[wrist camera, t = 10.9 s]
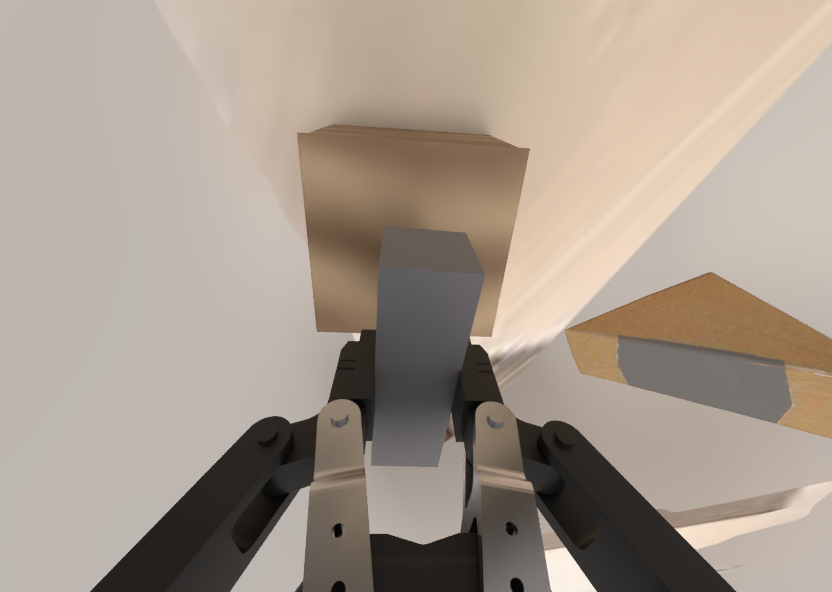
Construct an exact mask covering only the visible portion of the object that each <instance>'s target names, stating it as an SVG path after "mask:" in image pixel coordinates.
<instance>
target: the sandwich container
mask: <svg viewBox="0 0 832 592" xmlns="http://www.w3.org/2000/svg"><path fill="white" fill-rule="evenodd" d="M565 334H566V337H567V341H568V344H569V347H570V351H571V354H572V356H573V358H574V360H575V363H576V365H577V367H578V369H579V371H580V373H581V374H585V375H589V376H593V377H597V378H602V379H605V380H609V381H614V382H618V383H622V384H626V385H630V386H634V387H638V388H642V389H645V390H650V391H654V392H657V393H661V394H665V395H669V396H673V397H677V398H681V399H684V400H688V401H692V402H696V403H699V404H703V405H707V406H711V407H715V408H719V409H723V410H727V411H731V412H735V413H738V414H742V415H746V416H750V417H753V418H757V419H761V420H764V421H768V422H772V423H776V424H779V425H783V426H787V427H790V428H794V429H798V430H801V431H805V432H809V433H813V434H816V435H820V436H823V437H827V438H831V439H832V339H831V338H829V337H827V336H825V335H824V334H822V333H820V332H819V331H817V330H815V329H813V328H811V327H810V326H808V325H806V324H804V323H802V322H800V321H799V320H797V319H795V318H793V317H792V316H790V315H788V314H786V313H784V312H782V311H781V310H779V309H777V308H775V307H773V306H772V305H770V304H768V303H766V302H764V301H763V300H761V299H759V298H757V297H756V296H754V295H752V294H750V293H748V292H747V291H745V290H743V289H741V288H739V287H737V286H736V285H734V284H732V283H730V282H728V281H727V280H725V279H723V278H721V277H719V276H718V275H716V274H714V273H712V272H709V273H706V274H703V275H701V276H698V277H696V278H693V279H690V280H688V281H685V282H682V283H680V284H677V285H674V286H671V287H669V288H666V289H663V290H661V291H659V292H656V293H653V294H650V295H647V296H645V297H643V298H640V299H638V300H636V301H633V302H631V303H629V304H626V305H623V306H621V307H619V308H616V309H614V310H611V311H609V312H607V313H604V314H602V315H599V316H597V317H594V318H592V319H590V320H587V321H585V322H582V323H580V324H578V325H575V326H573V327H570V328H568V329H566V330H565Z"/></svg>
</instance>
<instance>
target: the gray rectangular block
mask: <svg viewBox="0 0 832 592" xmlns="http://www.w3.org/2000/svg"><path fill="white" fill-rule="evenodd" d="M484 278H485V273H484V270H483V268H482V266H481V264H480V262H479V260H478V257H477V255H476V253H475V251H474V249H473V247H472V244H471V242H470V240H469V238H468V236H467V233H464V232H452V231H440V230H428V229H416V228H404V227H391V226H385V227H384V234H383V240H382V247H381V253H380V260H379V266H378V292H377V320H376V347H375V416H374V427H373V438H372V458H371V465H373V466H421V467H437V466H438V463H439V459H440V455H441V451H442V446H443V443H444V439H445V435H446V431H447V427H448V423H449V418H450V414H451V410H452V406H453V401H454V395H455V390H456V385H457V380H458V375H459V371H461V370H462V366H463V362H464V358H465V354H466V350H467V346H468V342H469V338H470V334H471V330H472V326H473V322H474V318H475V314H476V310H477V306H478V302H479V298H480V294H481V290H482V286H483V282H484Z"/></svg>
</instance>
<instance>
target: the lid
mask: <svg viewBox="0 0 832 592" xmlns="http://www.w3.org/2000/svg"><path fill="white" fill-rule="evenodd" d="M297 134H298V144H299V154H300V165H301V175H302V185H303V195H304V205H305V215H306V225H307V236H308V246H309V255H310V266H311V276H312V286H313V297H314V306H315V317H316V327H317V331H318V332H347V333H361V331H362V329H370V330H376V320H377V292H378V266H379V260H380V253H381V247H382V240H383V234H384V227H385V226H391V227H404V228H416V229H428V230H440V231H452V232H464V233H467V236H468V238H469V240H470V242H471V244H472V247H473V249H474V251H475V253H476V255H477V257H478V260H479V262H480V264H481V266H482V268H483V270H484V273H485V278H484V282H483V286H482V290H481V294H480V298H479V302H478V306H477V310H476V314H475V318H474V322H473V326H472V330H471V334H470V336H482V337H491V336H492V331H493V326H494V321H495V317H496V312H497V307H498V302H499V297H500V292H501V287H502V282H503V277H504V272H505V268H506V263H507V258H508V253H509V248H510V243H511V238H512V233H513V228H514V223H515V219H516V214H517V209H518V204H519V199H520V194H521V189H522V184H523V179H524V174H525V170H526V165H527V160H528V155H529V150H530V149H528V148H513V147H499V146H484V145H469V144H455V143H440V142H425V141H411V140H396V139H381V138H367V137H352V136H337V135H323V134H308V133H297Z"/></svg>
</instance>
